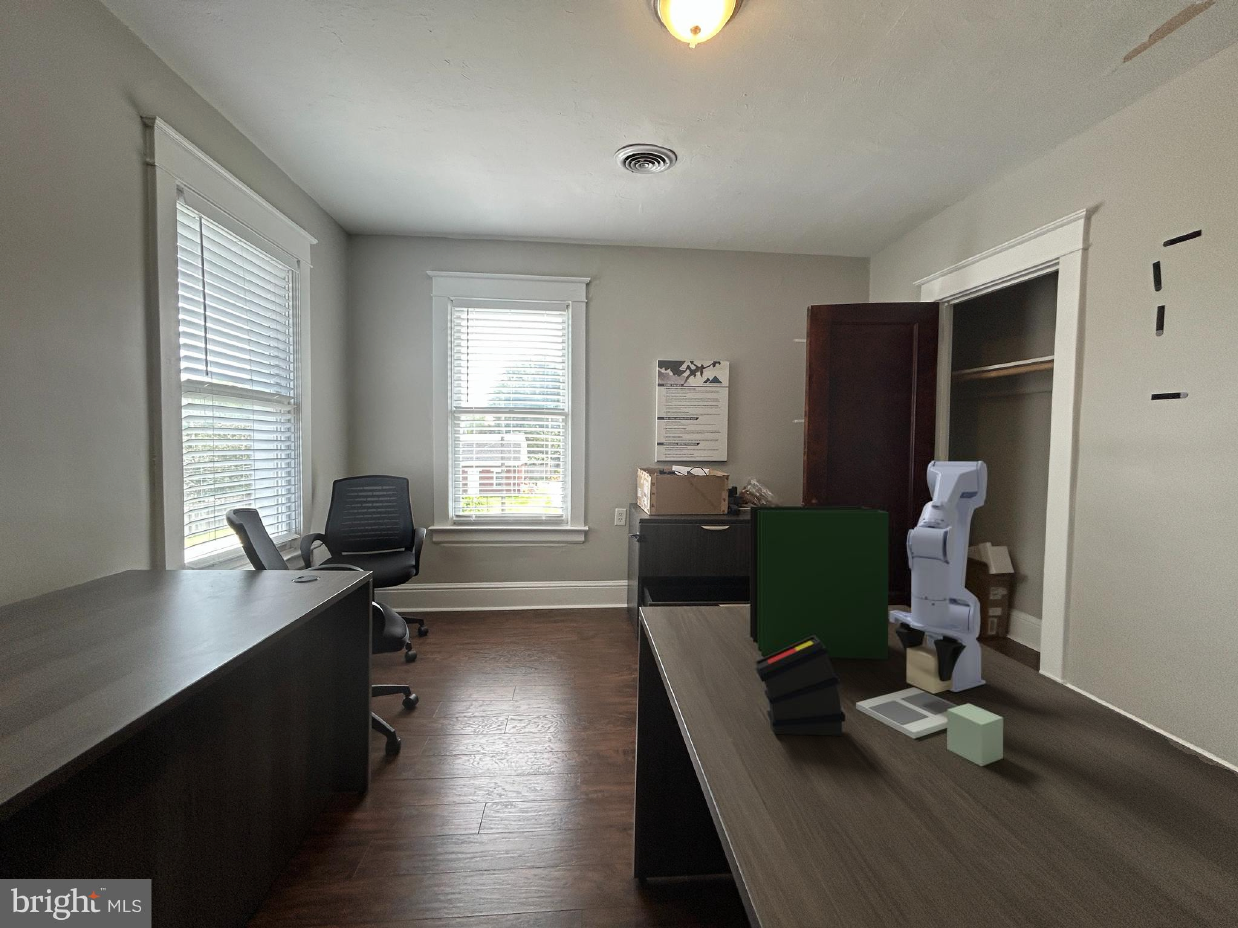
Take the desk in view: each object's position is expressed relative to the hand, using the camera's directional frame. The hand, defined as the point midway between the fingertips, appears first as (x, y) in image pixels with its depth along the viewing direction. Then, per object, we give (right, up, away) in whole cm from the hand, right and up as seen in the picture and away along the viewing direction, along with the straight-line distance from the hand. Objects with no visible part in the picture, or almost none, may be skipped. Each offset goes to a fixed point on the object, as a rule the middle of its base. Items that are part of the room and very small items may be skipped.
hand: (929, 673), depth 93 cm
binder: (-9, -6, +31) cm, 33 cm away
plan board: (-4, -6, -2) cm, 7 cm away
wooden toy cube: (0, -2, 0) cm, 2 cm away
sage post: (-1, -6, -14) cm, 15 cm away
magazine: (-25, -7, -7) cm, 27 cm away
